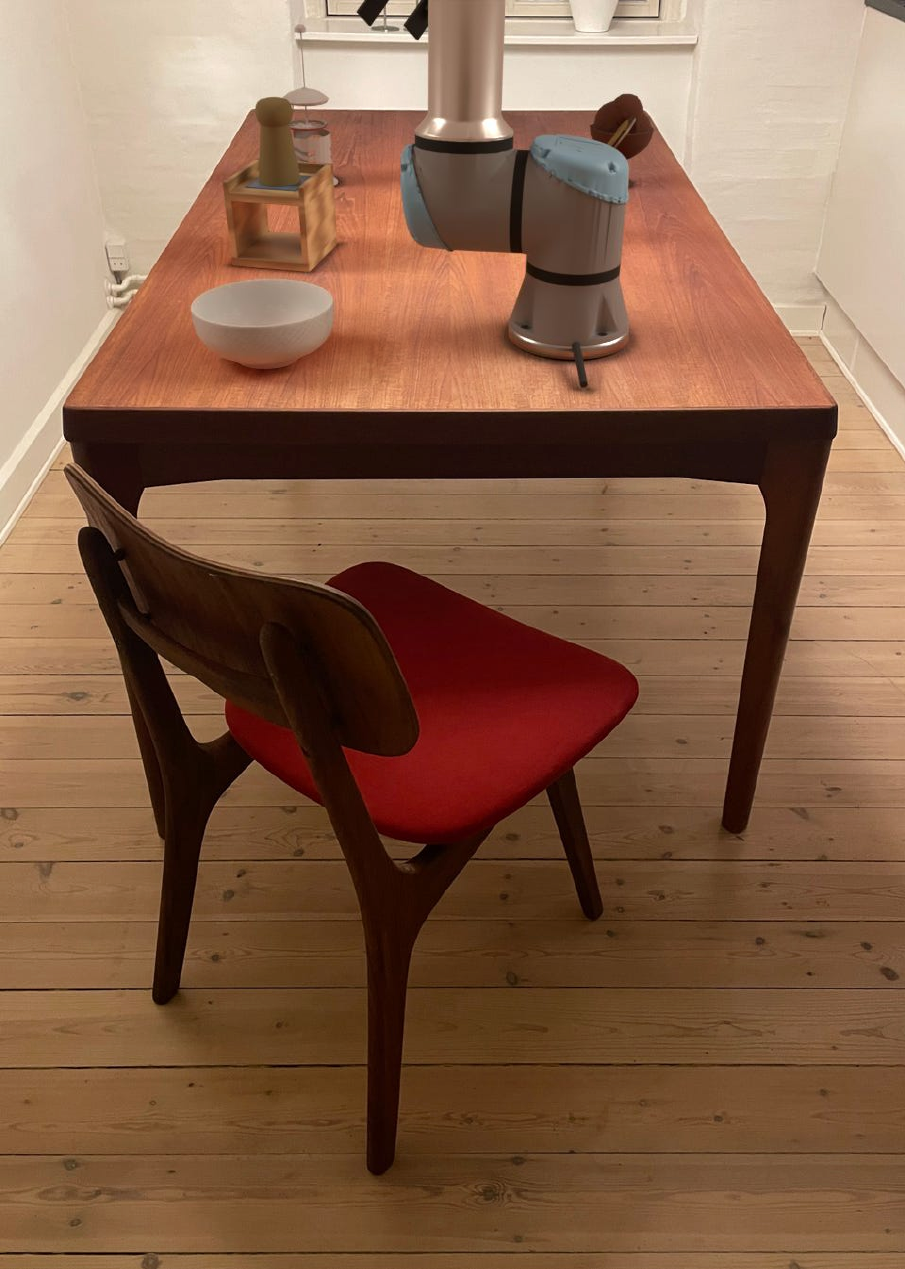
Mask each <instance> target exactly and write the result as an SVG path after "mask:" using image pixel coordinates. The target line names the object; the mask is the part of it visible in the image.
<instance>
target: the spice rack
mask: <svg viewBox="0 0 905 1269" xmlns="http://www.w3.org/2000/svg"><path fill="white" fill-rule="evenodd" d="M259 161H260V158H258V157H257V158H255V159H253V160H252V161H250V162H249V163H248V164H246V165H245V166H243V167H241V168H240V169H239V170H238V171H236V172H235V173H233V174H232V175H230V176H229V177H227V178H226V179H224V180H223V181H222V189H223V198H224V207H225V216H226V224H227V233H228V241H229V252H230V260H231V266H236V267H246V268H247V267H248V268H257V269H258V268H259V269H270V270H279V271H280V270H281V271H290V272H302V273H310V272H311V271H312V270H313V269H314V268H315V267H316V266H317V265H318V264H319V263H320V262H322V260H323V259H324V258H326V256H327V255H328V254H329V253H330V252H331V251H332V250H333V249H334V248H335V247H337V245H338V237H337V236H338V234H337V218H336V198H335V185H334V181H333V176H334V166H333V163H331V164H329V163H315V162H316V161H312V162H311V161H308V162H300V161H297V163H298V168H299V173H300V178H301V181H300V183H298V184H295V185H291V186H283V187H272V186H265V185H262V184H260V183H259ZM267 205H276V206H277V205H278V206H289V207H297V209H298V210H297V211H298V221H299V222H298V223H299V233H297V232H286V231H275V230H274V231H273V230H270V226H269V216H268V215H269V214H268V207H267Z"/></svg>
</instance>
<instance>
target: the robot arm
mask: <svg viewBox="0 0 905 1269" xmlns="http://www.w3.org/2000/svg"><path fill="white" fill-rule="evenodd" d="M389 1H390V0H363V1H362V3H361V5H359V7H358V9H357V10H356V13H357V15H358V16H359V17H360V18H361V20H362V21H363V22H364V23H365V24H366V25H367V27H372V26H373V25H374V23H375V22H376V20H377V19H378V17H379V16H380V14H381V13H382V11H383V10H384V8H386V5H387V4H388V3H389ZM506 3H507V1H506V0H420V1H419V2H418V3H417V5H416V6H415V7H414V9H413V10H412V12H411V13H410V15H409V16H408V18H407V19H406V20H405V22H404V24H402V26H403V27H404V28H405V29H406V31H407V32H408V33H409V34H410V35H411V37H412V38H413V39H414V40H415V41H420V39H421V37H422V36H423V35H424V33H425V32H426V30H427V114H426V116H425V118H423V119H422V121H421V122H420V123H418V125H417V126H416V127H415V129H414V142H411V143H409V144H406V145H405V146H404V147H403V149H402V150H401V154H400V162H399V163H400V164H399V165H400V174H399V182H400V184H399V186H400V195H401V204H402V210H403V214H404V220H405V224H406V227H407V230H408V232H409V235H410V237H411V238H412V240H413V241H414V242H415V243H416V244H417V245H419V246H420V247H423V248H426V249H437V250H445V252H449V253H452V252H454V251H458V252H459V251H462V252H483V253H484V252H485V253H499V254H500V253H502V254H521V255H522V254H523V255H525V258H526V259H525V275H524V278H523V281H522V283H521V285H520V289H519V292H518V294H517V297H516V299H515V302H514V305H513V308H512V311H511V313H510V316H509V318H508V338H509V340H510V342H511V343H512V344H513V345H514V346H516V347H517V348H519V349H521V350H523V351H525V352H527V353H529V354H532V355H535V356H539V357H544V358H550V359H557V360H570V361H571V360H572V361H574V363H575V369H576V372H577V379H578V384H579V388H582V389H585V388H587V387H588V386H589V382H588V377H587V372H586V367H585V362H584V360H591V359H592V360H593V359H598V358H602V357H606V356H610V355H613V354H615V353H617V352H619V351H621V350H622V349H623V348H624V347H626V346H627V344H628V342H629V334H630V321H629V316H628V311H627V307H626V303H625V299H624V292H623V288H622V285H621V268H622V267H621V265H622V256H623V246H624V245H623V244H624V233H625V223H626V222H625V220H626V209H627V208H626V207H627V203H628V202H629V199H630V192H629V187H628V178H629V176H630V175H629V174H630V169H629V168H630V167H629V163H628V160H626V158H625V157H624V156H623V154H622V153H620V152H619V151H618V150H617V149H615V148H613V147H611V146H609V145H607V144H604V143H602V142H599V141H595V140H593V139H592V138H587V137H583V136H578V135H572V134H571V135H570V134H561V133H556V134H549V133H548V134H546V133H545V134H540V135H538V136H535V137H533V139H532V140H531V144H530V145H529V149H519V148H514V135H515V134H514V133H515V132H514V129H513V128H512V127H510V125H509V124H508V123H507V122H506V120H505V119H504V117H503V115H502V112H503V111H502V109H503V84H504V59H505V58H504V57H505V55H504V54H505V30H506V5H507V4H506Z"/></svg>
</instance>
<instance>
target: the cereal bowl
mask: <svg viewBox="0 0 905 1269" xmlns="http://www.w3.org/2000/svg"><path fill="white" fill-rule="evenodd" d="M190 315H191V319H192V323H193V327H194V329H195V333H196V335H197V337H198V339H199V340H200V341H201V343H202V344H203V345H204V346H205V347H206V348H207V349H208V350H209V351H210V352H211V353H213V354H215V355H216V356H218V357H220V358H222V359H224V360H228V361H232V362H235V363H238V364H240V365H242V366H243V367H246V368H249V369H254V370H255V369H256V370H273V369H274V370H275V369H280V368H285V367H287V366H290V365H292V364H294V363H296V362H298V361H299V360H300V359H301V358H303V357H306V356H308V355H310V354H312V353H313V352H315V351H316V350H318V349H319V348H321V346H323V344H324V343H325V342H326V341H327V339H328V338H329V336H330V334H331V333H332V330H333V327H334V323H335V300H334V296H333V295H332V293H330V291H328V290H327V289H326V288H324V287H322V286H320V285H317V284H315V283H311V282H308V281H304V280H297V279H288V278H257V279H255V278H254V279H247V280H241V281H240V280H239V281H235V282H229V283H225V284H222V285H219V286H216V287H213V288H210V289H208V290H206V291H204V292H203V293H200V295H198V296H197V297H196V298H194V299H193V301H192V303H191V305H190Z"/></svg>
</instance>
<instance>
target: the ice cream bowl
mask: <svg viewBox="0 0 905 1269" xmlns="http://www.w3.org/2000/svg"><path fill="white" fill-rule="evenodd" d="M633 116H635V119H636V120H635V122H634V124H633V126H632V127H631V129H630V130H629V132H628V133H627V134H626V136H625V137H624V138H623V140H622V141H621V142H620V143H619V145H618V146H617V147H616V148H615V149H617V150H618V151H619V152H620V153H622V154H623V156H624V157H625V158H626V160H627V161H628V160H630V159H632V158H634V157H636V156H637V155H639V154H640V153H642V151H644V149H646V148H647V147H648V146H649V144H650V142H651V140H652V139H653V134H654V131H655V129H654V128H653V126H652V124H651V121H650V118H649V117H648V116H647V115H646V114H645V113H644V106H643V103H642V101H641V99H640V98H639V96H638V95H635V94H633V93H621V94H620V95H619V96H617V97H615V98H614V99H613V100H611V101H609V102H607V103H604V104H603V105H601V107H599V109H598V110H597V112H596V114H595V115H594V120H593V123H592V124H590V125H589V131H590V137H591V139H592V140H595V141H599V142H602V143H604V144H607V143H608V142H609V141H610V139H611V138H612V136H613V135H614V134H615V133H616V131H617V130H618V129H619V127H620V126H621V125H622V124H623V123H624V122H625V121H626V120H627V119H629V118H631V117H633ZM632 186H633V182H632V180H631V179H630V178H629V177H628V188H630V187H632Z"/></svg>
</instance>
